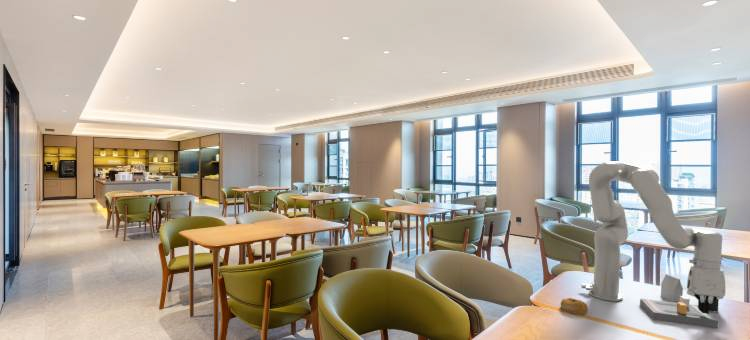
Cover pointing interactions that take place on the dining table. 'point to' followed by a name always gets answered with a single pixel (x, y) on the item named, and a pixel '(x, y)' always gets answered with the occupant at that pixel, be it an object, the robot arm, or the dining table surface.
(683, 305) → the breaker handle
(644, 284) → the dining table surface
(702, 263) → the robot arm
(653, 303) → the breaker panel
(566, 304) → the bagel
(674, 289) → the grey piece
